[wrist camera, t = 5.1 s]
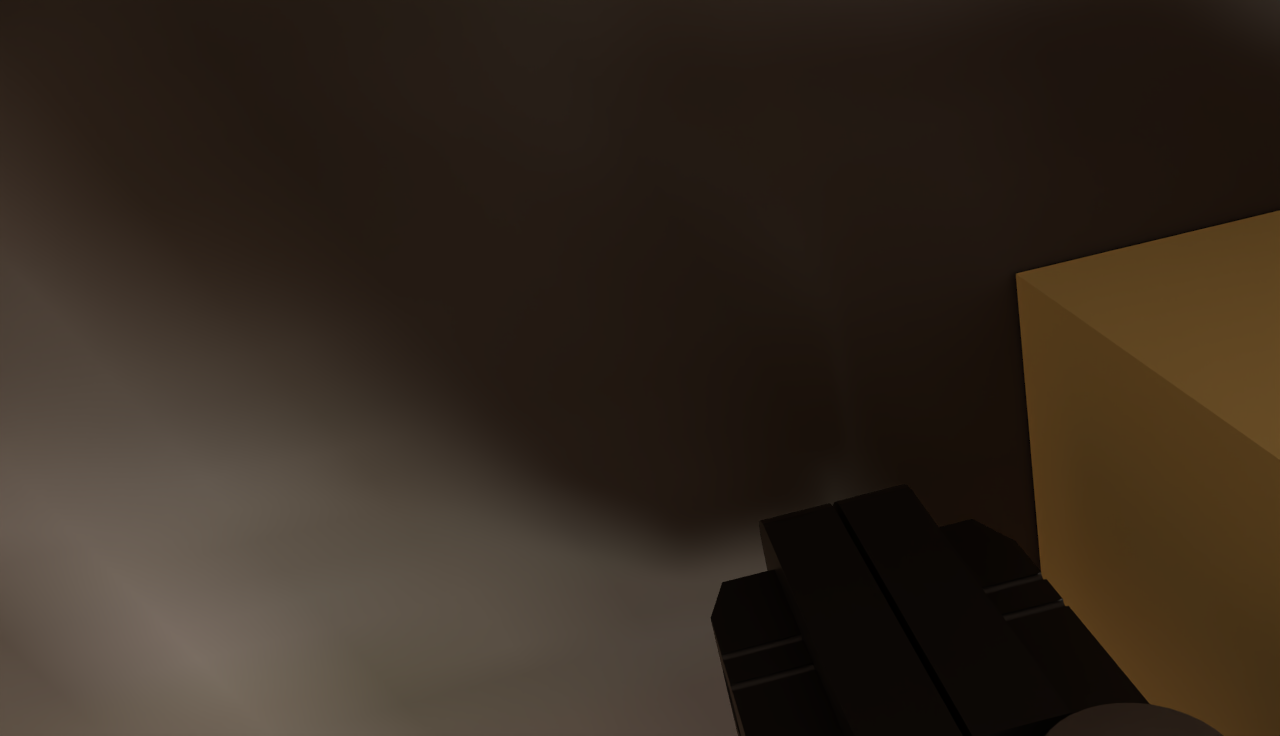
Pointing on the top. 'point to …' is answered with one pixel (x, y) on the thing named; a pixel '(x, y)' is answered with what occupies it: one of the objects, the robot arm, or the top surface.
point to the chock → (1165, 461)
